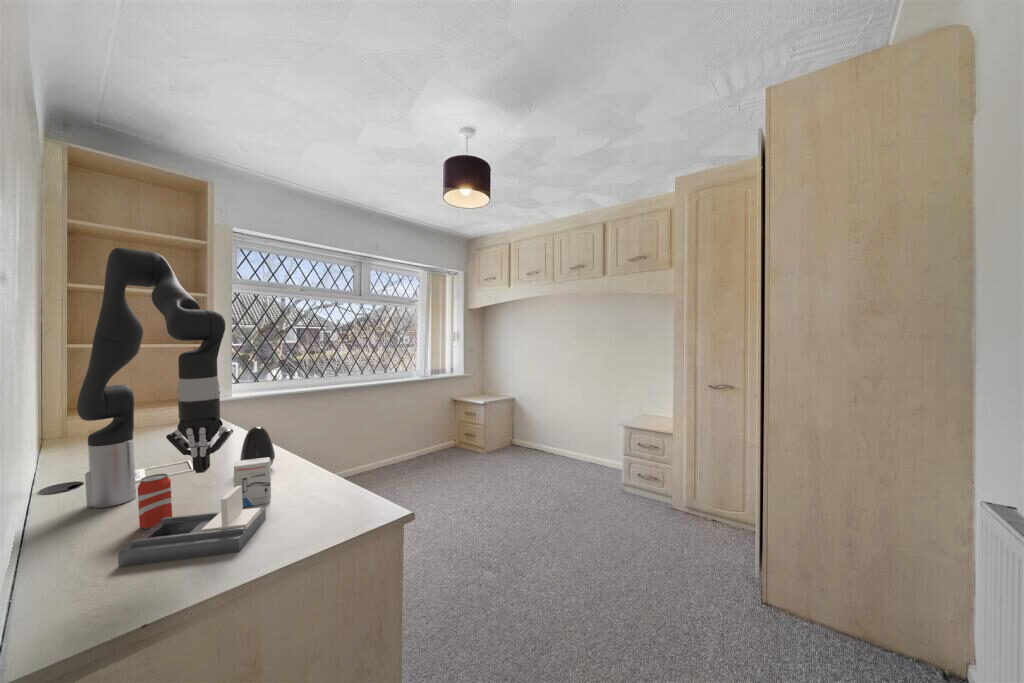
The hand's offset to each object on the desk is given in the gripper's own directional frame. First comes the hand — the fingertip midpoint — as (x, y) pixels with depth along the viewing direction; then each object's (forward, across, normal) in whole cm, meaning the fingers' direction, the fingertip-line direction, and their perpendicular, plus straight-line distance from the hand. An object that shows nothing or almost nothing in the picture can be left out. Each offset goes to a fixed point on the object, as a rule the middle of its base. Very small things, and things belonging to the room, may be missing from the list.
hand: (201, 471), depth 94 cm
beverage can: (+16, -16, +12) cm, 25 cm away
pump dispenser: (+17, -5, +50) cm, 53 cm away
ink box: (+16, +4, +20) cm, 26 cm away
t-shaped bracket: (+13, +6, 0) cm, 14 cm away
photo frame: (+18, -39, +57) cm, 71 cm away
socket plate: (+16, -1, 0) cm, 16 cm away
